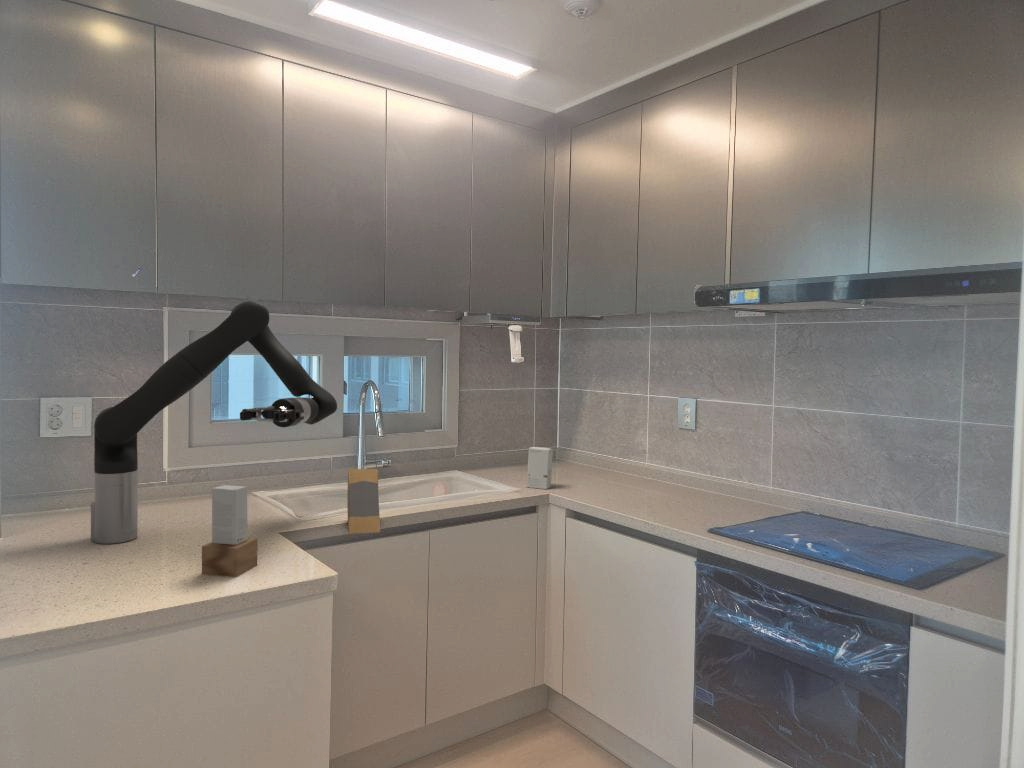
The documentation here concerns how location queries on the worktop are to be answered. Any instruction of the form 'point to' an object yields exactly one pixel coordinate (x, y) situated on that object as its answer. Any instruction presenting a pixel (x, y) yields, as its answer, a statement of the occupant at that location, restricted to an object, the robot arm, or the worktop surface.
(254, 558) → the walnut block
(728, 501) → the worktop surface
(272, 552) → the worktop surface
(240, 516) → the skincare box
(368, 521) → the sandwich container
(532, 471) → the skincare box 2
